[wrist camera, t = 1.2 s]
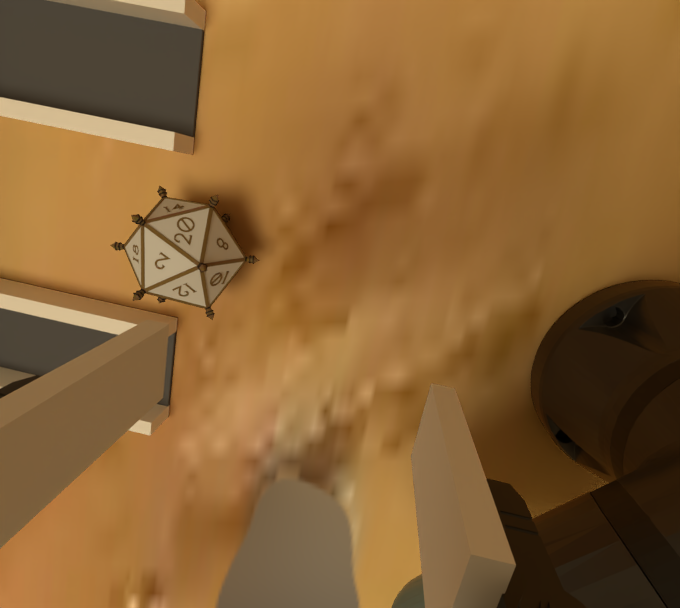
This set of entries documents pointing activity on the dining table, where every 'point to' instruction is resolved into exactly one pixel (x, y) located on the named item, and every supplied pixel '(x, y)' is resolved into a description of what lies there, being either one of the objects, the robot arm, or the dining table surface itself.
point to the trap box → (149, 3)
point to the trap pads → (97, 100)
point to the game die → (183, 252)
